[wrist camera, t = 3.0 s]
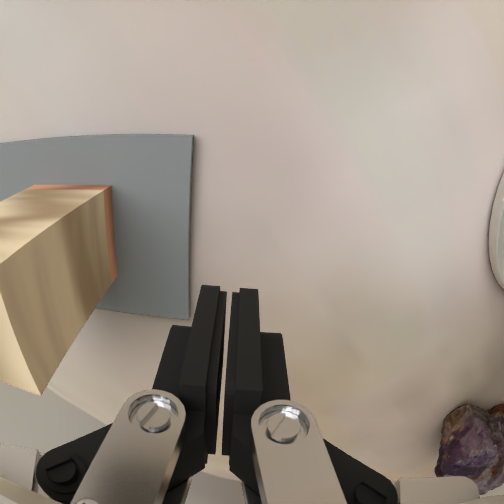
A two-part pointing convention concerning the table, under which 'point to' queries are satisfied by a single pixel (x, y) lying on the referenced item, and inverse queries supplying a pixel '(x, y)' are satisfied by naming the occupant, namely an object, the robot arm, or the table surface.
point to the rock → (473, 446)
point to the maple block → (51, 275)
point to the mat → (124, 207)
